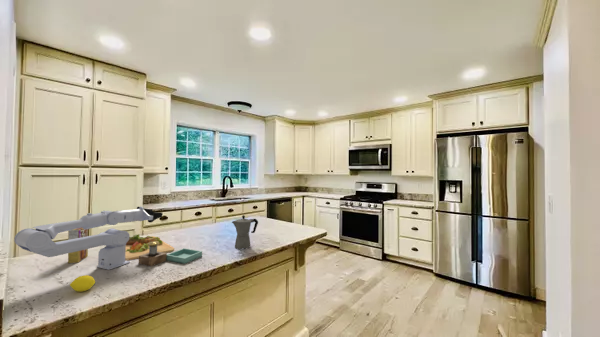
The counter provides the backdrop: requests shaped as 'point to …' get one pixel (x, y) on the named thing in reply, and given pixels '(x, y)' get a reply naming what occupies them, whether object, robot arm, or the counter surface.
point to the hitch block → (152, 259)
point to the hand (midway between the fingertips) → (157, 213)
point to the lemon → (82, 283)
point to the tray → (184, 255)
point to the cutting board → (144, 246)
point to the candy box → (77, 255)
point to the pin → (153, 248)
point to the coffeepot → (243, 232)
